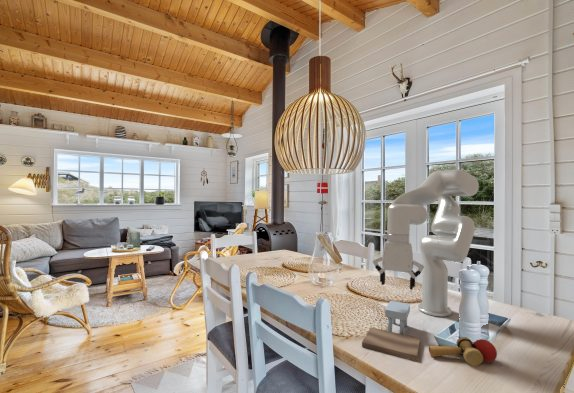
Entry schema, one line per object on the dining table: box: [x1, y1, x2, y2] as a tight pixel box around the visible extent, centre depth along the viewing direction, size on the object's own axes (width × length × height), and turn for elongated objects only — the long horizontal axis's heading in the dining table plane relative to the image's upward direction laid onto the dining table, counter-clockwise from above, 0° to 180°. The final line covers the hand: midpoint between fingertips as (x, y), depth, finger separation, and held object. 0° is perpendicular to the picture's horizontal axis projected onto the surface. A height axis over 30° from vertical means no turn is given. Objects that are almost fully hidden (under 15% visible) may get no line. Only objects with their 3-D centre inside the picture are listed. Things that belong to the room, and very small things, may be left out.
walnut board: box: [361, 326, 421, 362], centre depth 94 cm, size 12×16×2 cm
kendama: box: [428, 336, 498, 366], centre depth 86 cm, size 8×6×18 cm
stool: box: [384, 300, 411, 335], centre depth 105 cm, size 10×7×8 cm
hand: (397, 286), depth 105 cm, fingers open, 9 cm apart
